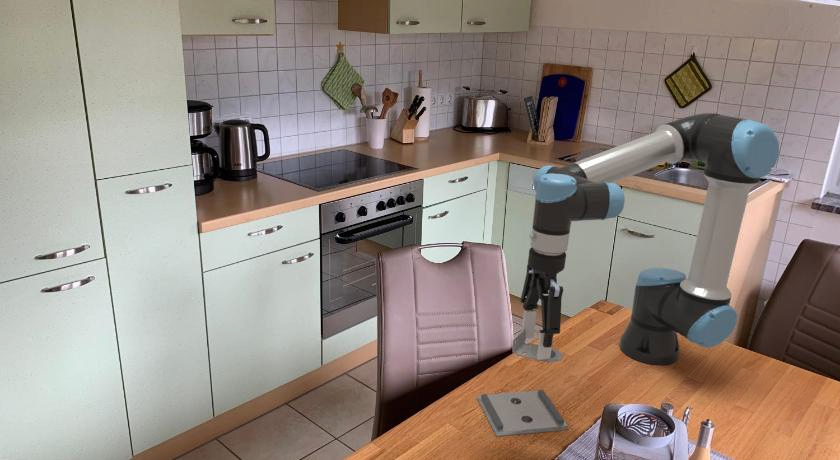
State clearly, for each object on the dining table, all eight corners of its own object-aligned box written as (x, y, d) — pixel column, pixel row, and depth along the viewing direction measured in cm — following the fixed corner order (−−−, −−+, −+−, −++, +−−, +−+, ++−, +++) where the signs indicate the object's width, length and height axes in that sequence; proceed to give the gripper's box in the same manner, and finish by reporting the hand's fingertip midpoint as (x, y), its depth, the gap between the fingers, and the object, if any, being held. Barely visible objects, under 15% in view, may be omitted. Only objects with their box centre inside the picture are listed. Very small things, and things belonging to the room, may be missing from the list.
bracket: (555, 368, 134) (557, 353, 133) (511, 353, 139) (512, 339, 138) (566, 355, 139) (568, 341, 138) (523, 342, 144) (524, 328, 143)
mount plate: (542, 393, 153) (543, 387, 152) (567, 429, 140) (568, 422, 139) (477, 398, 149) (478, 392, 149) (496, 436, 136) (497, 429, 136)
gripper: (513, 232, 142) (502, 325, 149) (551, 269, 122) (537, 374, 129) (545, 232, 144) (533, 324, 151) (588, 268, 124) (572, 372, 131)
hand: (534, 347), depth 140 cm, fingers closed on bracket, 9 cm apart
